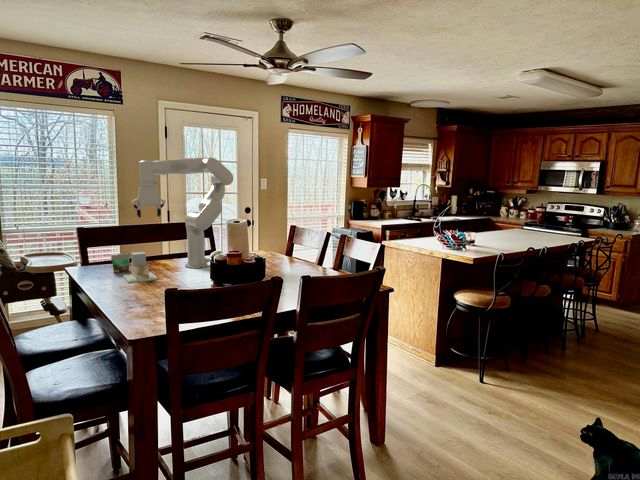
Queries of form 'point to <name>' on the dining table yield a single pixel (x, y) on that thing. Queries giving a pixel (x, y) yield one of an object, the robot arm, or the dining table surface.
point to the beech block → (140, 271)
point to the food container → (121, 262)
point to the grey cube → (138, 259)
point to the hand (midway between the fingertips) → (149, 216)
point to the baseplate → (130, 279)
